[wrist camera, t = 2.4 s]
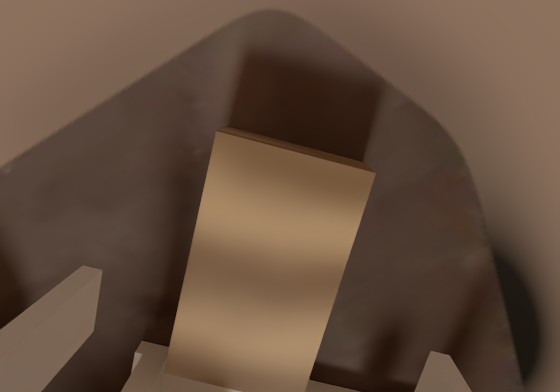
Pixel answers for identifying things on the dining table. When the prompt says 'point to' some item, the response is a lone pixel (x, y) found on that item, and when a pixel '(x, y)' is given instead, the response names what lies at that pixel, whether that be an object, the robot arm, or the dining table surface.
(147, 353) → the peg stand
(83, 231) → the dining table surface
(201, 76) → the dining table surface
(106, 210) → the dining table surface
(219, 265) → the wooden block
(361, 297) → the dining table surface
